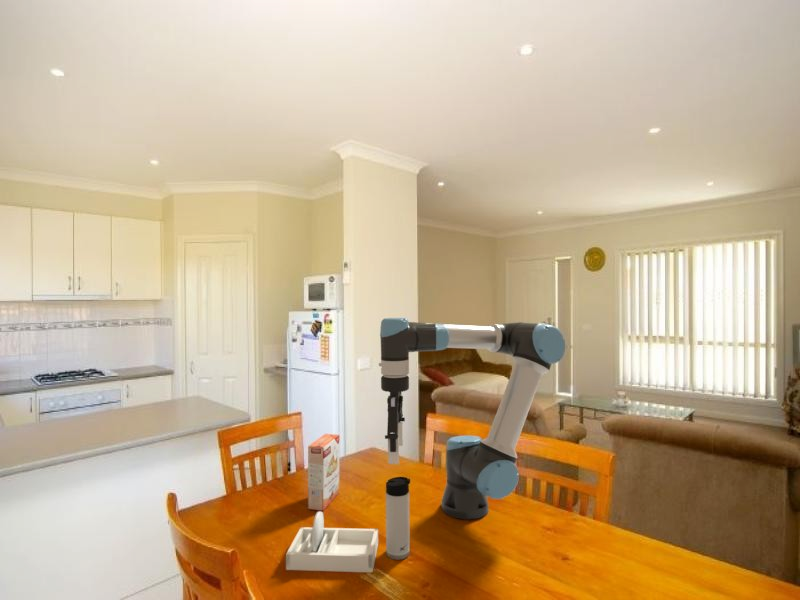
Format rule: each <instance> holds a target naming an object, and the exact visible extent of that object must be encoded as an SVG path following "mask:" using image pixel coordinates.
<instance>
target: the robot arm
mask: <svg viewBox="0 0 800 600" xmlns="http://www.w3.org/2000/svg"><path fill="white" fill-rule="evenodd" d="M379 333H380V334H379V337H380V362H379V363H378V366H379V367H381V368H380V373H381V375H382V376H381V377H380V386H381V387H380V390H381V391H383V392H388V393H389V395H388V397H387V399H386V402H387V427H386V428H387V431H386V435H384V439H385V440H387V464H388V465H400V451H399V450H400V447H403V445H404V444H403V443H404V438H403V437H404V436H403V435H404V433H403V422H405V421H406V418H405V417H403V416H404V414H403V405H404V404H403V401H404V396H403V395H402V392H406V391H408V390H409V389H410V377H409V375H408V374H410V359H409V358H410V355H409V354H410V353H414V352H416V353H417V352H437V351H444V350H446V349H447V348H448V349H472V350H474V349H475V350H487V351H489V352H490V353H499V354H505V355H509V356H512V357H511V358H512V360H513V363H514V366H513V369H512V371H511V374H510V376H509V379H508V381H507V385H506V387H505V390H504V392H503V395H502V398H501V401H500V403H499V405H498V408H497V410H496V414H495V416H494V419H493V421H492V424H491V427H490V429H489V432H488V435H487V437H485V438H483V439H482V437H480V436H478V435H470V434H469V435H456V436H452V437H449V439H447V441H446V447H445V452H446V484H445V489H444V492H443V495H442V497H441V510H442V512H444V513H445V514H446V515H448V516H450V517H452V518H455V519H460V520H476V519H480V518H483V517H485V516H486V515H487V514H488V513H489V501H488V500H489V499H488V498H490V499H491V500H492V499H493V500H501V499H505V497H508V496H509V495H511V494H512V493H513V492H514V491H515V490H516V487H517V486H518V483H519V481H520V480H519V478H520V474H519V469H518V467H517V466H516V463H517V460H518V455H517V453H516V447H517V444H518V441H519V440H520V437H521V434H522V430H523V427H524V425H525V423H526V420H527V417H528V415H529V411H530V409H531V406H532V403H533V401H534V398H535V395H536V392H537V390H538V387H539V384H540V382H541V379H542V376H543V375H545V374H547V373H550V370H551V367H552V365H554V364H556V363H557V364H558V362H560V361H561V360H562V359H563V357H564V356H565V353H566V340H565V338H564V335H563V333H562V332H561V330H560V329H559V328H557V327H556V326H554V325H551V324H546V323H541V322H540V323H534V322H532V323H531V322H507V323H490V324H488V326H487V325H470V324H469V325H468V324H452V323H451V324H450V323H435V322H434V323H431V322H414V321H409V320H408V318H407V317H387V318H383V319H382V320H381V322H380V332H379Z"/></svg>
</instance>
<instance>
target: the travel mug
mask: <svg viewBox="0 0 800 600" xmlns="http://www.w3.org/2000/svg"><path fill="white" fill-rule="evenodd" d="M409 484H411V478H408V477H405V476H395V477H392V478H389V479H388V480H387V481H386V482H385V536H386V537H385V539H386V540H385V544H386V545H385V546H386V548H385V551H386V555H387V557H388V558H390V559H391V560H398V561H399V560H404V559H406V558H407V557H408V556H410V549H411V548H410V485H409Z"/></svg>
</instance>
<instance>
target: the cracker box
mask: <svg viewBox="0 0 800 600" xmlns="http://www.w3.org/2000/svg"><path fill="white" fill-rule="evenodd" d="M312 442H313V441H312ZM307 447H308V448H307V449H308V450H307V454H308V456H307V465H308V466H307V469H308V470H307V510H313V511H319V512H323V511H325V510H326V508H327V507H328V506H329V505H330V504H331V502H333V500H334V499H335V498H336V497H337V496H338V495H339V494H340V434H336V433H335V434H334V433H324V434H323V435H322V436H320V437H319V438H318V439H316V440H315V441H314V442H313V443H310V444H309V445H308V446H307Z"/></svg>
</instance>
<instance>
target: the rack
mask: <svg viewBox="0 0 800 600" xmlns="http://www.w3.org/2000/svg"><path fill="white" fill-rule="evenodd" d="M324 521H325V519H324V513H323V511H317V512H316V513H315V516H314V518H313V523H312V524H313V525H312V527H307V526H301V527H300V528H299V530H298V531H297V533H296V535H295V537H294V538H293V541H292V542H291V544H290V546H289V547H288V550H287V552H286V554H285V570H286V571H311V572H312V571H315V572H321V571H322V572H345V573H373V571H374V566H375V561H376V557H377V552H378V551H377V550H378V545H379V529H378V528H353V527H352V528H351V527H350V528H349V527H347V528H345V527H325V522H324Z"/></svg>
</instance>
